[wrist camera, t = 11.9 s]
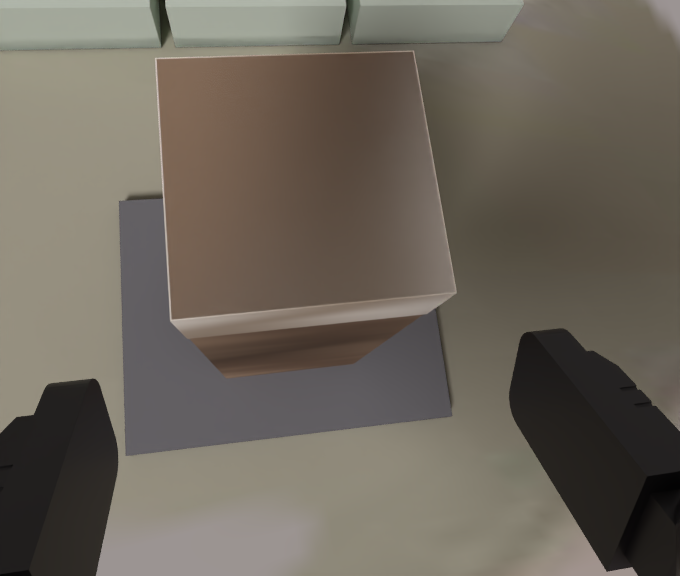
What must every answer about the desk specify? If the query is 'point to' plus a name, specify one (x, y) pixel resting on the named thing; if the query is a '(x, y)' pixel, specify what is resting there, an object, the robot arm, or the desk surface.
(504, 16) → the tray
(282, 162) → the brown wooden block
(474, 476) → the desk surface
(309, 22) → the tray
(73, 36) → the tray
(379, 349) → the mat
